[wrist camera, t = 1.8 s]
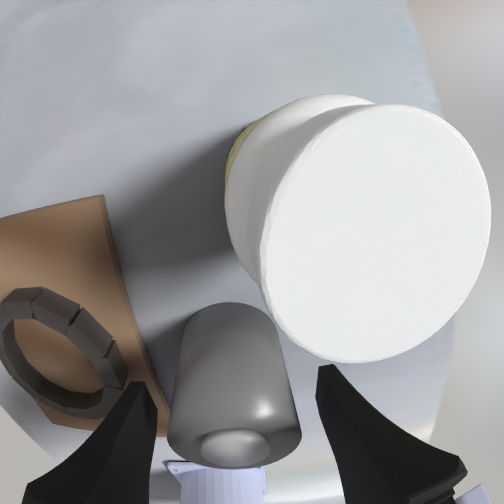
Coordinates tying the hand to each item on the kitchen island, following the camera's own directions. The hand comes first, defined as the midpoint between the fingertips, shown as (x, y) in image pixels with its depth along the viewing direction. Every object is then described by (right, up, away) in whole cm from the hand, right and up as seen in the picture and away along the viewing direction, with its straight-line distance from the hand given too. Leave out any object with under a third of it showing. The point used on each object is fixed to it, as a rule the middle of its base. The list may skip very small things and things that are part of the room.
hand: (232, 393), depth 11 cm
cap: (0, +1, +3) cm, 4 cm away
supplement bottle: (+2, +9, 0) cm, 9 cm away
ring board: (-10, 0, +3) cm, 11 cm away
